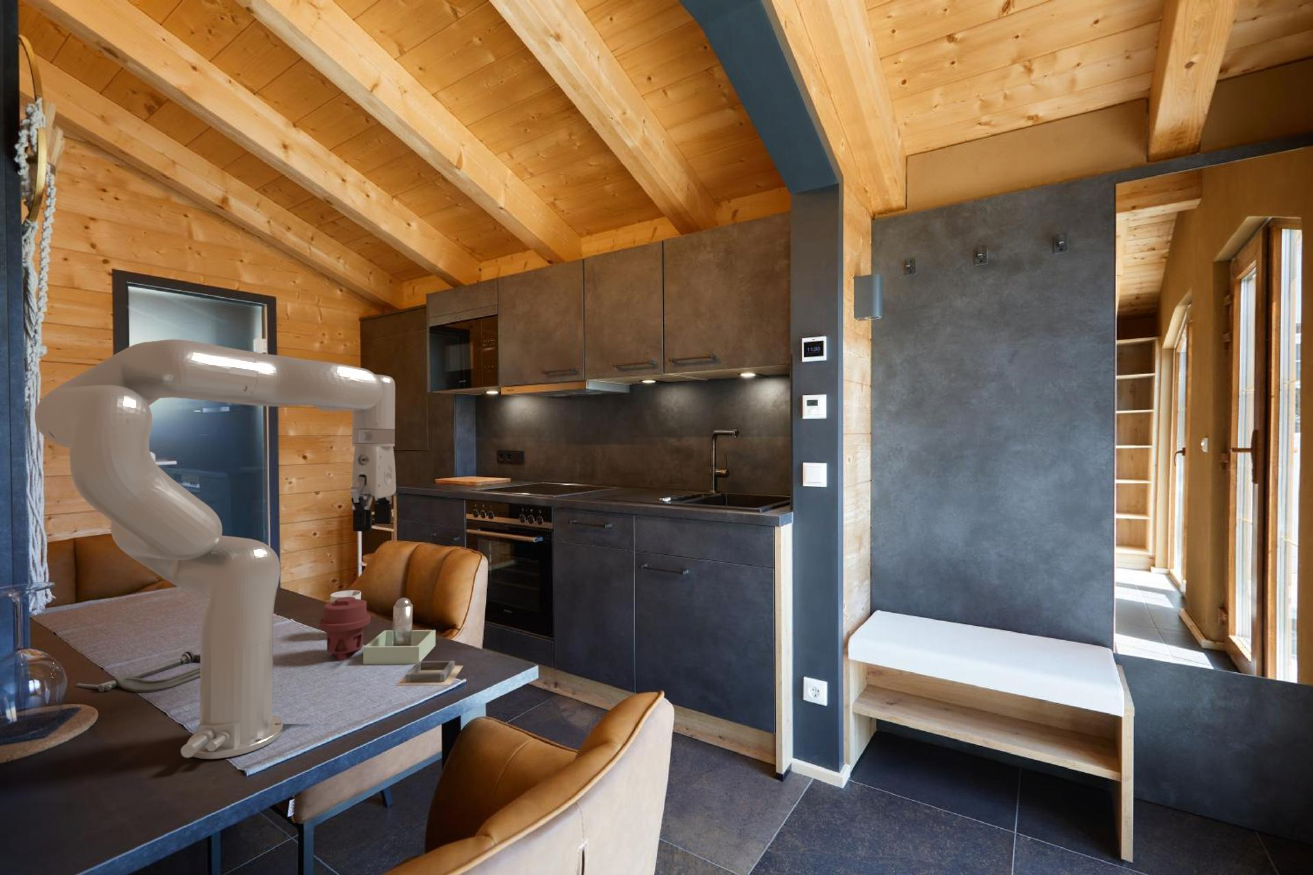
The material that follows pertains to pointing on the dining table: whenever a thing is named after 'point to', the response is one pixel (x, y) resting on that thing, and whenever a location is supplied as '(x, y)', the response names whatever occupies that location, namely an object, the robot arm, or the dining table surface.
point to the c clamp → (146, 686)
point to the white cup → (346, 594)
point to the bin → (399, 648)
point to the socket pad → (430, 673)
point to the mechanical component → (344, 626)
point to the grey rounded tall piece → (402, 623)
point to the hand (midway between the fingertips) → (372, 527)
